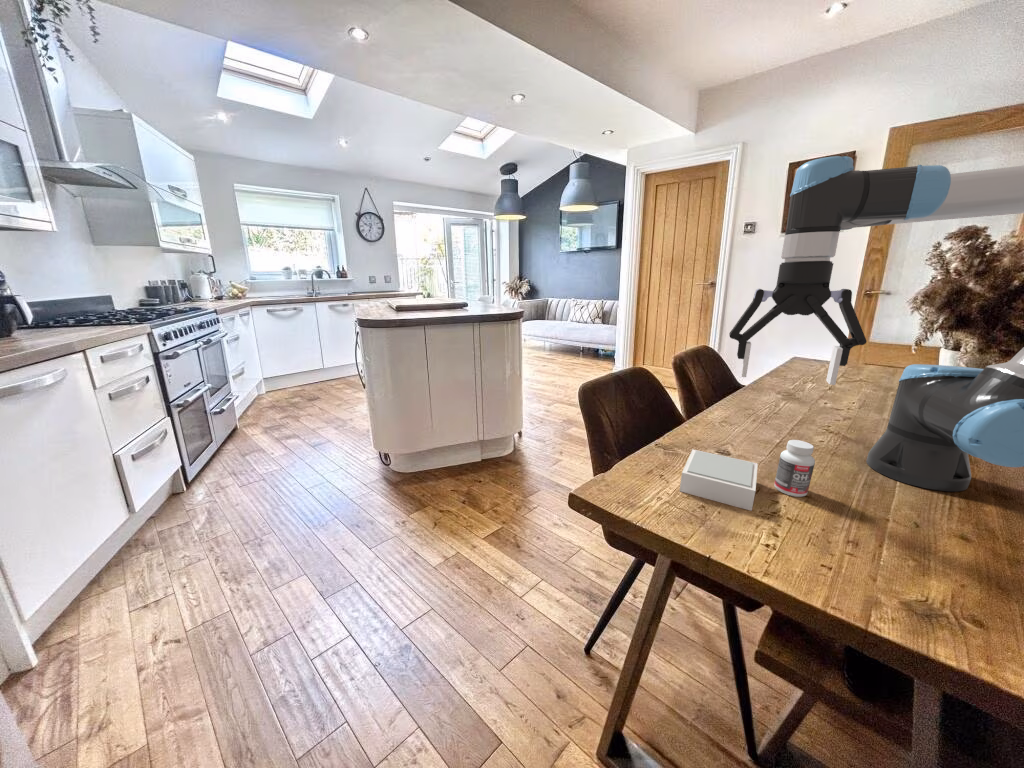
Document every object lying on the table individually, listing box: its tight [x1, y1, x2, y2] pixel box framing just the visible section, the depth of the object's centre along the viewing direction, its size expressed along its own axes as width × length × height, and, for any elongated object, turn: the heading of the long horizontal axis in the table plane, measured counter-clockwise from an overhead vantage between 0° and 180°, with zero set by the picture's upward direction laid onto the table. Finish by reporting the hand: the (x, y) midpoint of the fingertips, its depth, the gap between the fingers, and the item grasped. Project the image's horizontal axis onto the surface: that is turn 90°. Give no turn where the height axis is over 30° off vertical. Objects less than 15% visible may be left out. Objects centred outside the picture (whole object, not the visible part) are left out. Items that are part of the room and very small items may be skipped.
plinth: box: [679, 448, 759, 511], centre depth 76 cm, size 12×12×4 cm
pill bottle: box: [773, 439, 816, 498], centre depth 74 cm, size 5×5×10 cm
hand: (785, 379), depth 73 cm, fingers open, 13 cm apart
